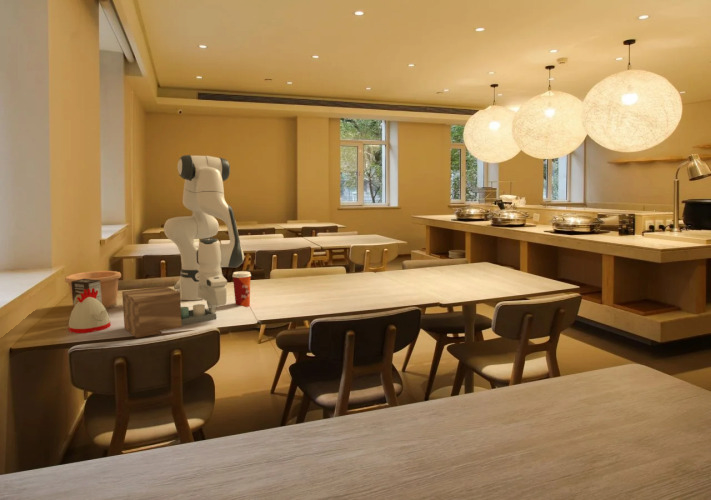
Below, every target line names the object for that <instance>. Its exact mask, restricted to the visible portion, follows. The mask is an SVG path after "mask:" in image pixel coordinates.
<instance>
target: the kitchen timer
mask: <svg viewBox="0 0 711 500" xmlns="http://www.w3.org/2000/svg"><path fill="white" fill-rule="evenodd" d="M80 294H81V297H82V299H80V298H79V297H77V298H78V300H79V302H78V303H77V304H76V305H75V307H74V308H73V309H72V310H71V312H70V315H69V319H68V332H70V333H72V332H75V333H74V334H87V333H88V332H89V333H95V332H99V331H103V330H106V329H108V328H110V327H111V320H110V315H109V313H108V311H107V309H105V307H104V306H103V305H102V303H101V302H100V301H98V300H97V299H96V297H97V294H98V291H96V292H95V289H94V288H92V292H91V291H90V289H88V293H87V290H86V289H84V294H83V293H80Z"/></svg>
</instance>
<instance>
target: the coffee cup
mask: <svg viewBox="0 0 711 500" xmlns="http://www.w3.org/2000/svg"><path fill="white" fill-rule="evenodd" d="M231 277H232V281H233V292H234V301H235V305H236V306H241V307H244V308H248V307H250V305H251V302H250V301H251V277H252V274H251V272H250V271H242V270H241V271H234V272H232V275H231Z"/></svg>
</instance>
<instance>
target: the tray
mask: <svg viewBox="0 0 711 500" xmlns="http://www.w3.org/2000/svg"><path fill="white" fill-rule="evenodd" d="M215 320H217V313H216V312H215V313H214V312H212V311H209V309H208V308H205V315H202V316H196V317H193V309H189V318H185V319H181V323H182V326H186V325H193V324H197V323H202V322H208V321H209V322H210V321H215Z"/></svg>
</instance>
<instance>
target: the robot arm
mask: <svg viewBox="0 0 711 500" xmlns="http://www.w3.org/2000/svg"><path fill="white" fill-rule="evenodd" d="M178 159H179V160H178V162H177V166H176V167H177V172H178V176H180V178H181V179H183V180H184V184H183V193H182V195H183V196H182V204H183V206H184V207H185V208H186V209H187V210H189V211H190V212H192V214H191V215H190V216H189V215H188V216H187V215H186V216H175V217H171V218H168V219H167V220H166V221H165V223H164V225H163V231H164V235H165V236H166V238H167V239H168V240H170V241H171V242H173V243H174V244H175V246H176V247H177V248H178V251H179V255H180V261H181V269H180V274H179V275H180V277H179V279H178V280H177V282H176V284H174V285H173V290H175V291H177V292H180V301H199V300H203V301H206V305H207V310H209V311H212V312H214V313H216V309H217V307H218V306H219V307H221V306H225V305H226V304H227V285H228V280H227V279H226V278H225V277H224V274H223V272H222V271H223V270H222V268H238V267H240V266H241V265H242V264H243V263H244V260H245V254H244V250H243V246H242V245H241V241H240V236H239V231H238V226H237V222H236V217H235V213H234V210H233V208H232V206H231V205H229V204H228V203H227V201H226V199H225V190H224V189H225V188H224V182H226V181H227V180H228V179H229V177H230V174H231V165H230V162H229V161H228V160H227V159H226V158H223V157H216V156H211V155H190V154H185V155H181V156H180V158H178ZM217 219H220V220H221V221H222V222H224V223H225V224H226V228H227V231H228V232H227V233H228V236H229V237H228V238H229V243H220V240H219V239H218V238H215V237H214V236H217V234H218V233H219V230H220V225H219V222H218V220H217ZM199 239H200V240H199ZM194 240H199V241H198V246H197V245H196V244H195V242H194Z"/></svg>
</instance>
